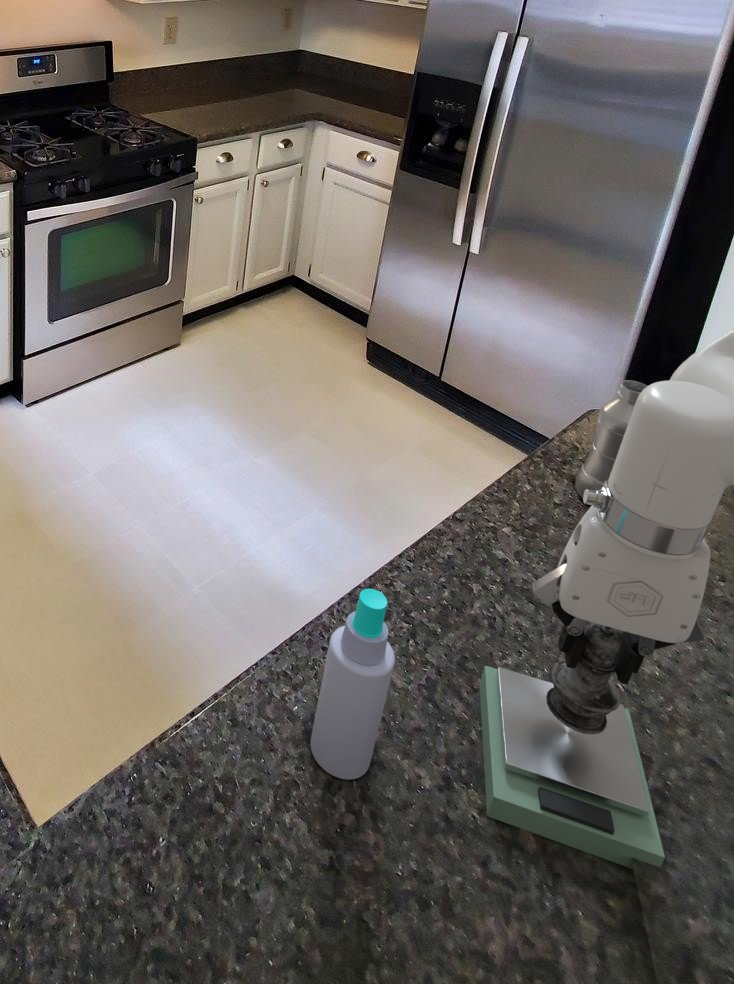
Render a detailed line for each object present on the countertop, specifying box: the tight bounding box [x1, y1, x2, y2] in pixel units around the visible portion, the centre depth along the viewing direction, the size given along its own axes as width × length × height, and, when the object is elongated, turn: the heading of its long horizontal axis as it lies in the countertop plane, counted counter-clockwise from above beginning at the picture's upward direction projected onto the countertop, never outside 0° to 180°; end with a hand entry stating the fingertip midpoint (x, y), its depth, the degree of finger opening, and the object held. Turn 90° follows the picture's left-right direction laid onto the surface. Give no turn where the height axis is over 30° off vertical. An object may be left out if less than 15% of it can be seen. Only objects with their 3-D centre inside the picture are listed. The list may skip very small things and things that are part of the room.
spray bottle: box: [310, 588, 396, 781], centre depth 79 cm, size 6×6×22 cm
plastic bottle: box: [574, 379, 648, 499], centre depth 116 cm, size 6×7×20 cm
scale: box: [478, 665, 666, 870], centre depth 81 cm, size 14×16×4 cm
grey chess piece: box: [546, 622, 622, 735], centre depth 77 cm, size 6×6×12 cm
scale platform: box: [496, 666, 649, 817], centre depth 81 cm, size 12×12×1 cm
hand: (594, 662), depth 77 cm, fingers closed on grey chess piece, 3 cm apart
